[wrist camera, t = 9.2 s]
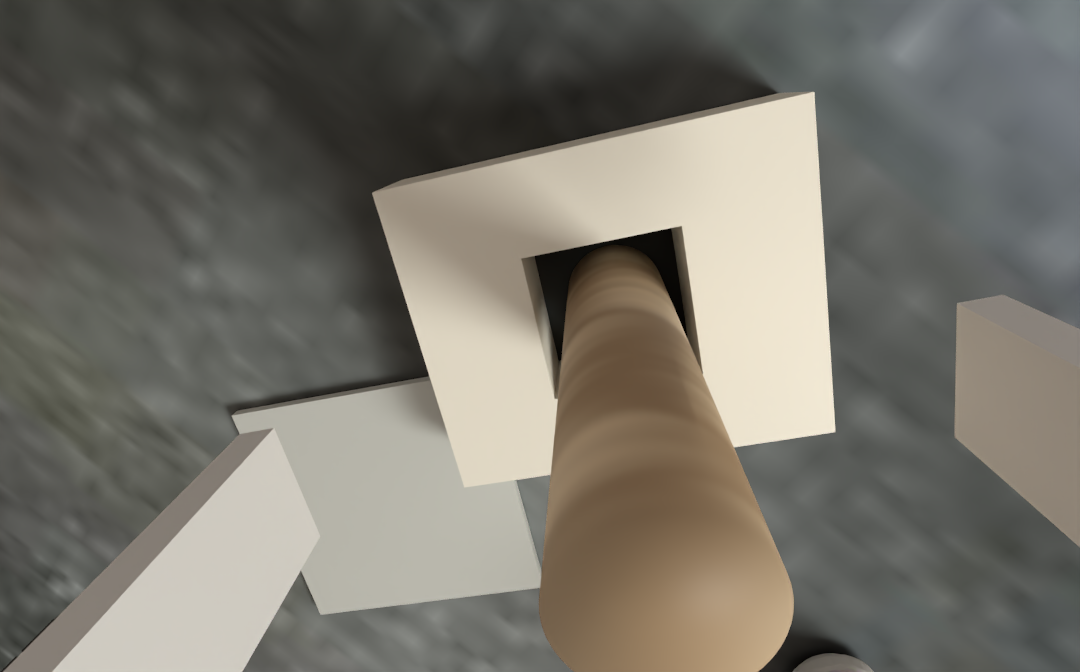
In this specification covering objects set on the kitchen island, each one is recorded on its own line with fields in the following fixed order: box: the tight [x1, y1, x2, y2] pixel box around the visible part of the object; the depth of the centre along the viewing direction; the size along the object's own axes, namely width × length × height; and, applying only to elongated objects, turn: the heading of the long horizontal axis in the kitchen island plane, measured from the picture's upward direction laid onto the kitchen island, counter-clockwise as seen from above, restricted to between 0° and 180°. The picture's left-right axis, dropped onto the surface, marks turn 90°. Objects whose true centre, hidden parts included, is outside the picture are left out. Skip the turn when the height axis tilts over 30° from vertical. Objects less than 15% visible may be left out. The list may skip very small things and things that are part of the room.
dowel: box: [539, 245, 794, 672], centre depth 14 cm, size 3×3×14 cm
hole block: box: [372, 92, 835, 488], centre depth 19 cm, size 12×10×3 cm
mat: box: [232, 376, 542, 615], centre depth 24 cm, size 10×10×1 cm
